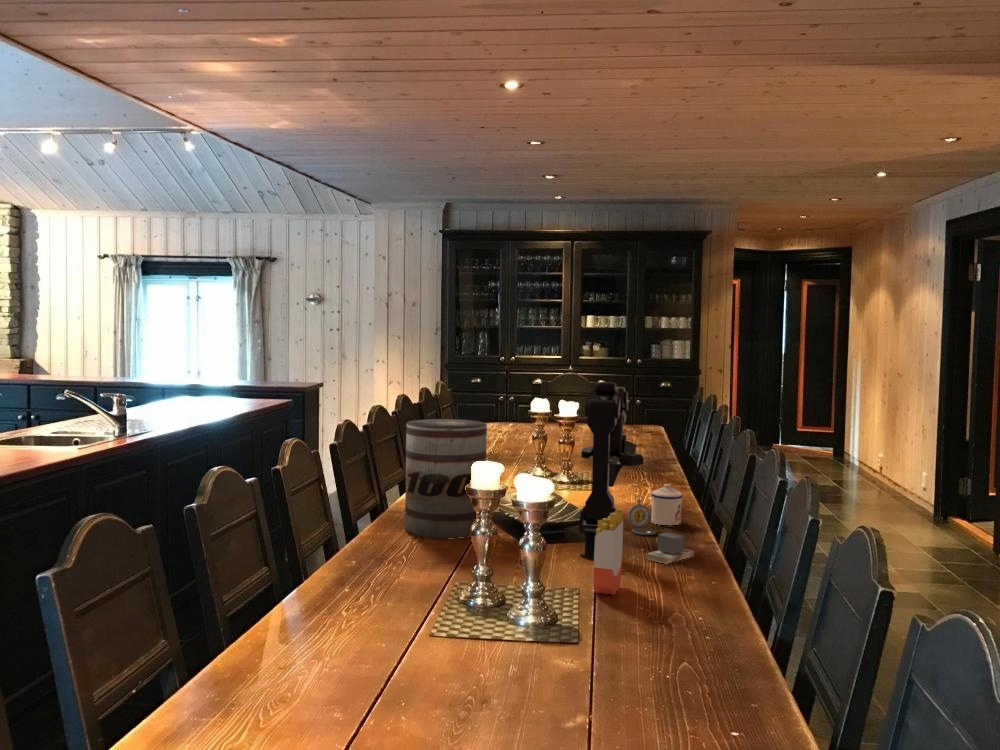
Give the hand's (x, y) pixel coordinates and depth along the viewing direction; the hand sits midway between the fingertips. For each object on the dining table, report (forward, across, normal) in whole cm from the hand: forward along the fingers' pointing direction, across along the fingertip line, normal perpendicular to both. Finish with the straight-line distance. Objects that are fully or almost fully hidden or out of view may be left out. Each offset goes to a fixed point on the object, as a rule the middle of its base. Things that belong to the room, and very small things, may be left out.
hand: (610, 486), depth 248 cm
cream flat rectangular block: (+13, -28, +8) cm, 32 cm away
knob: (+11, -28, +8) cm, 31 cm away
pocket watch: (+13, -6, -8) cm, 16 cm away
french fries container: (+13, -36, +41) cm, 56 cm away
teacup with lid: (+13, -1, -24) cm, 27 cm away
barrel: (+13, +30, +35) cm, 48 cm away
